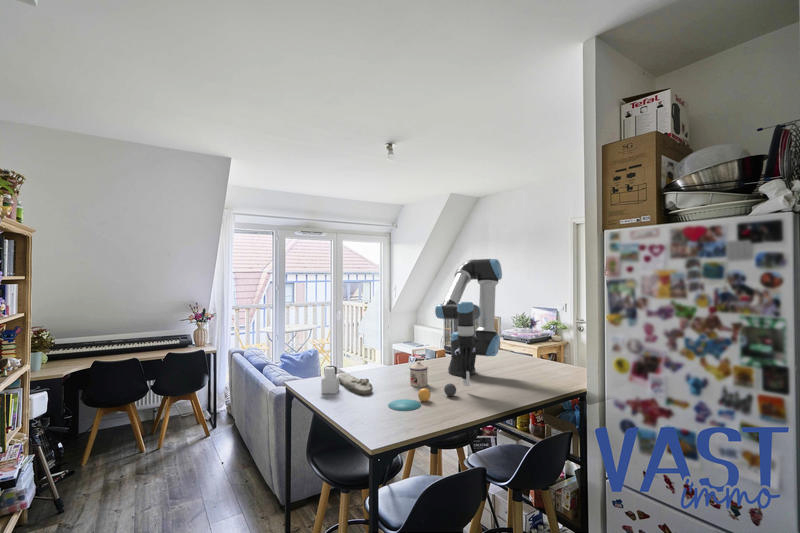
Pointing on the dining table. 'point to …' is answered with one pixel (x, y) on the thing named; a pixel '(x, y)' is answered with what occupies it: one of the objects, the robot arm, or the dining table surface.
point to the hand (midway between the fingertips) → (466, 385)
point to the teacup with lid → (418, 375)
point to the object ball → (424, 394)
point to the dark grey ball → (450, 389)
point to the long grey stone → (356, 384)
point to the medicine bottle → (330, 380)
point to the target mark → (404, 405)
